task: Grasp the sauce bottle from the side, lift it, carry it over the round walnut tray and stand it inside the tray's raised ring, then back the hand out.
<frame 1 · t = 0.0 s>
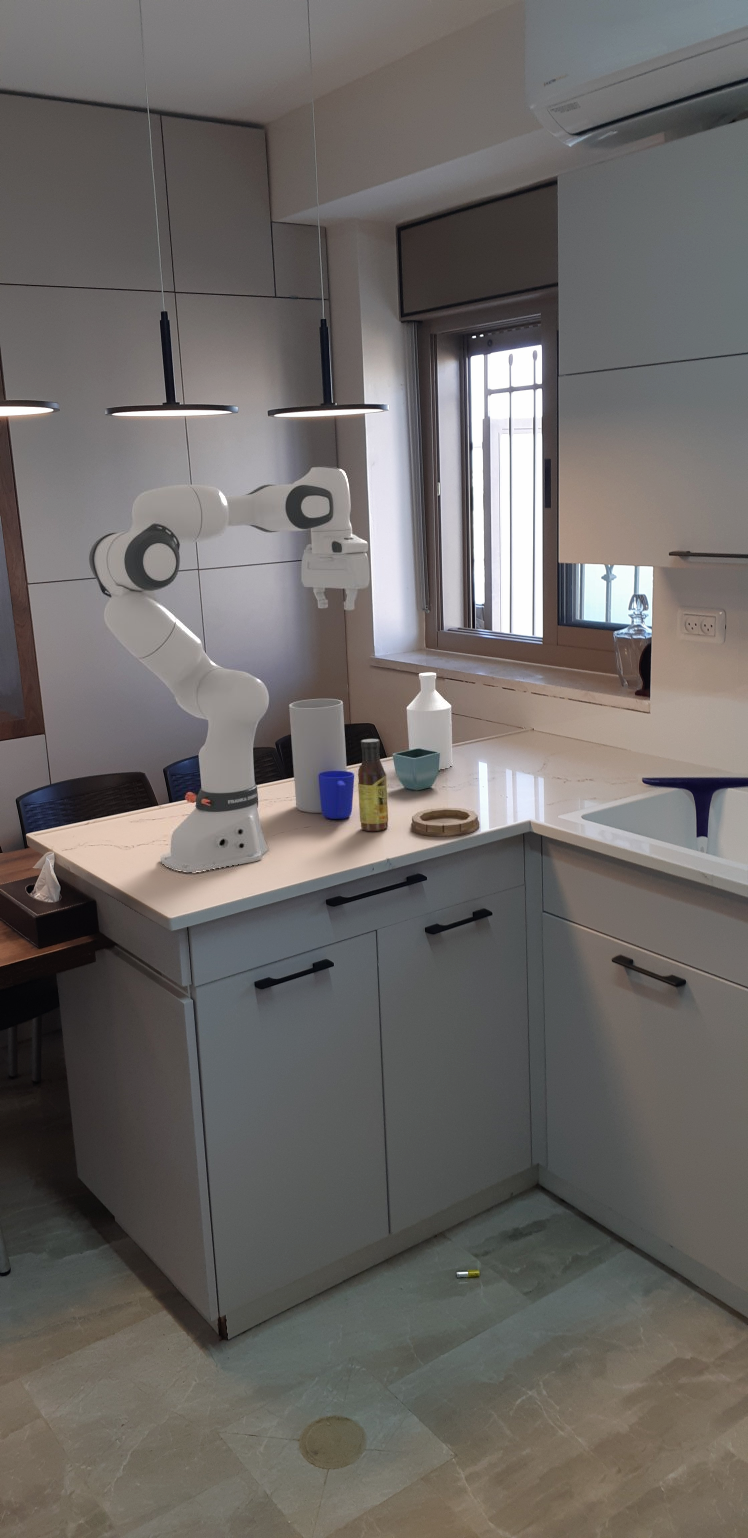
hand: (336, 608, 251), 48 cm above the countertop, tool pointing down, fingers open, 8 cm apart
mug: (338, 819, 264), on the countertop
flower pot: (417, 788, 289), on the countertop
sauce bottle: (374, 829, 256), on the countertop
cylinder vase: (322, 807, 276), on the countertop
bottle: (431, 766, 312), on the countertop
tray: (445, 826, 254), on the countertop
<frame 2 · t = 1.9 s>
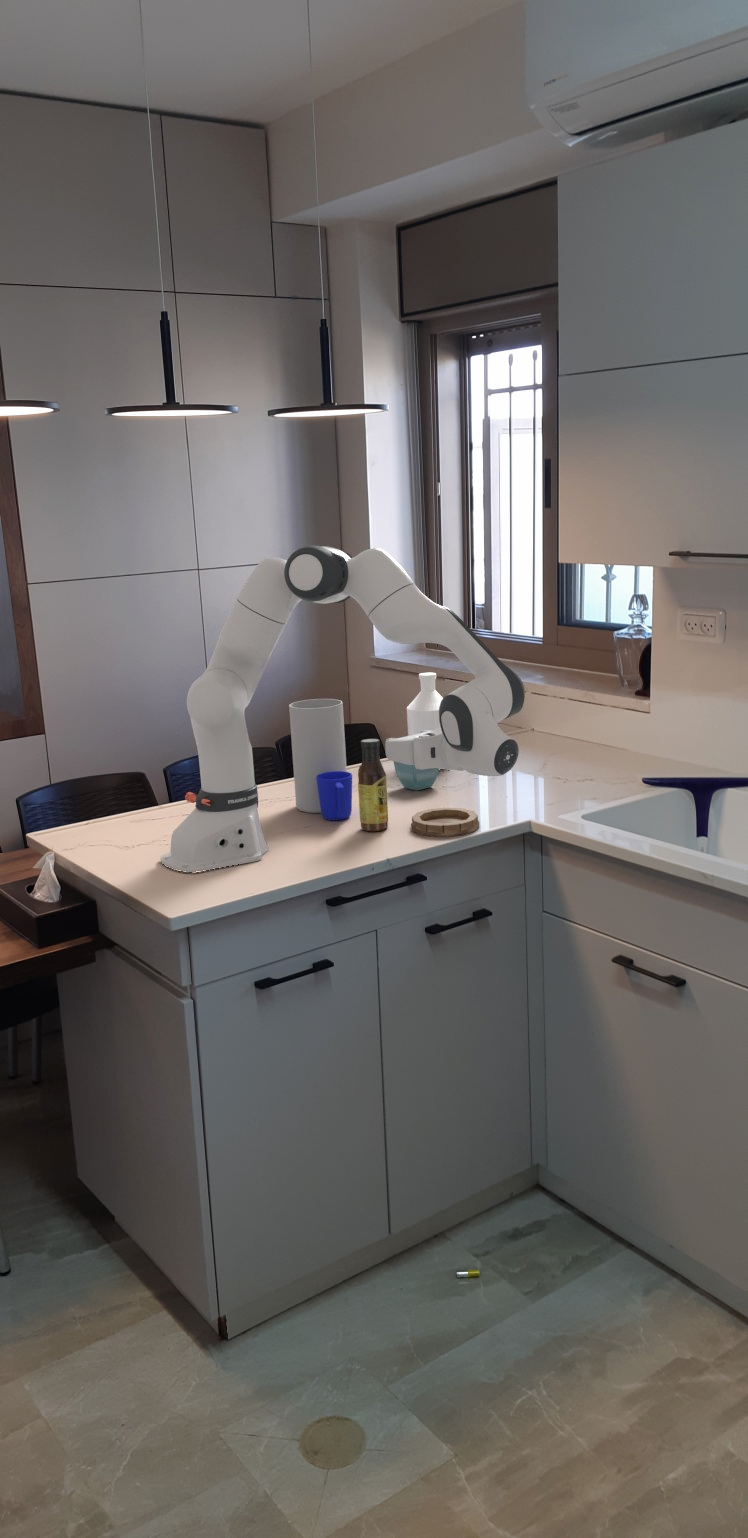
hand: (405, 738, 242), 22 cm above the countertop, tool horizontal, fingers open, 8 cm apart
nothing on the countertop moved.
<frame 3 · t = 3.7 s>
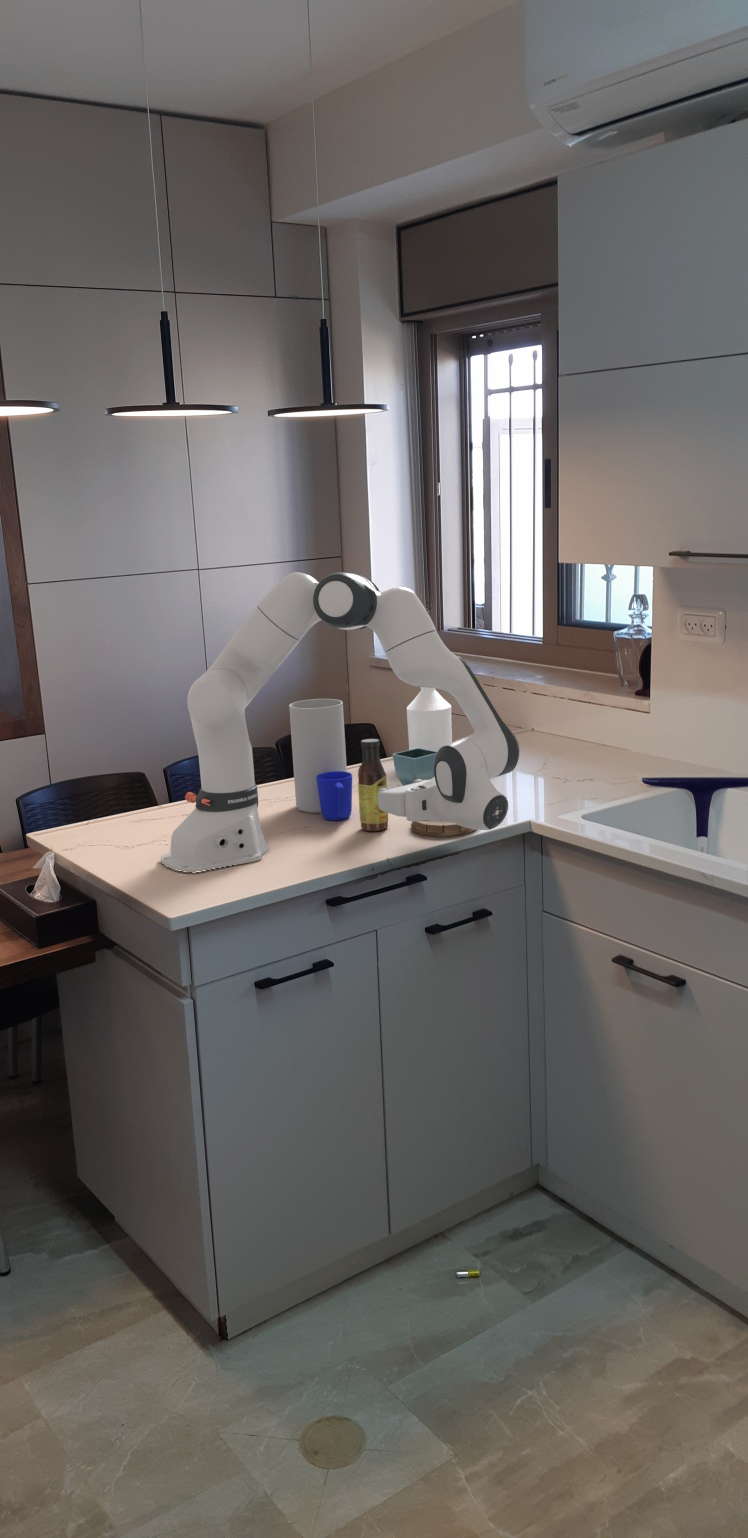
hand: (398, 787, 246), 11 cm above the countertop, tool horizontal, fingers open, 8 cm apart
nothing on the countertop moved.
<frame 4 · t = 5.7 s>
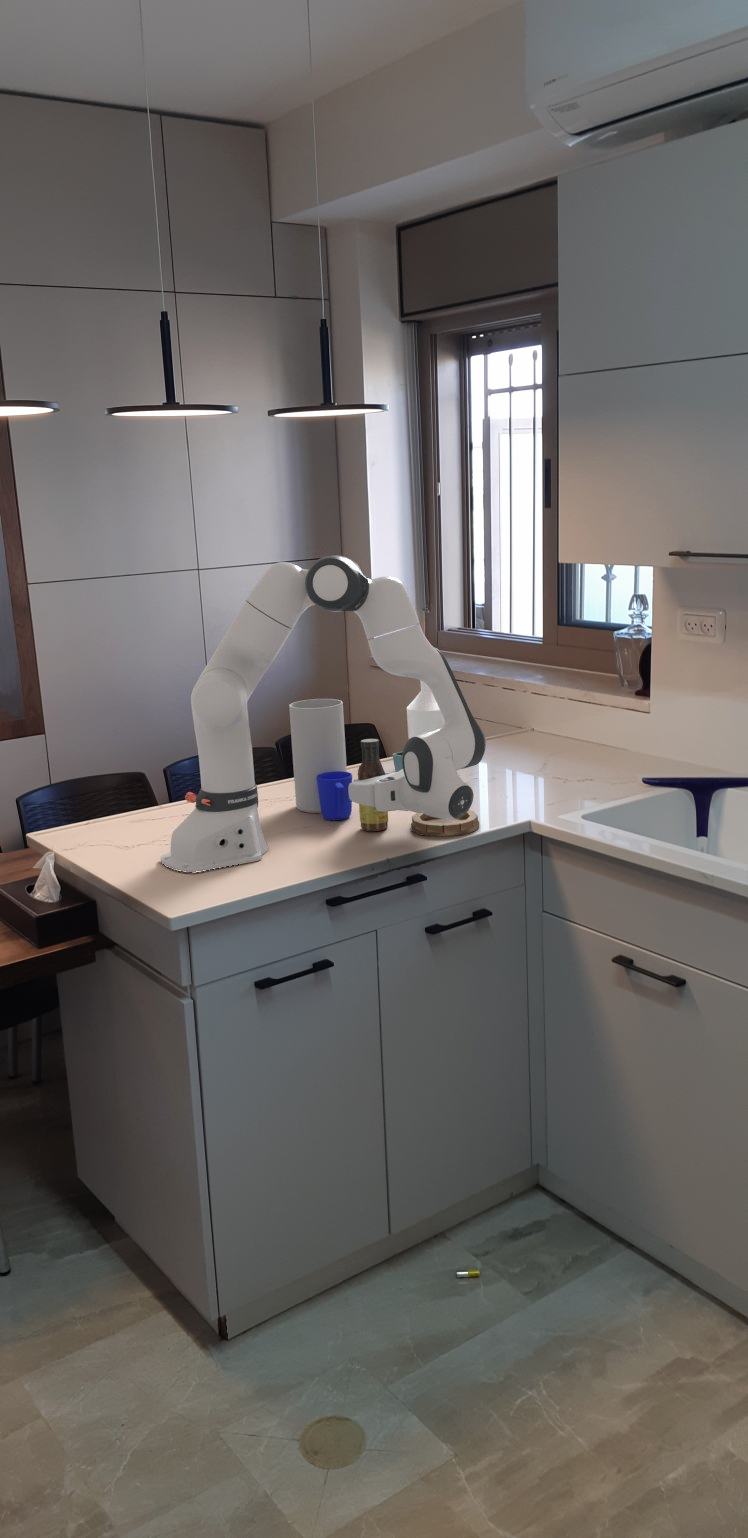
hand: (369, 779, 254), 11 cm above the countertop, tool horizontal, fingers closed on sauce bottle, 6 cm apart
sauce bottle: (374, 829, 256), on the countertop, touching gripper
everything else where it was.
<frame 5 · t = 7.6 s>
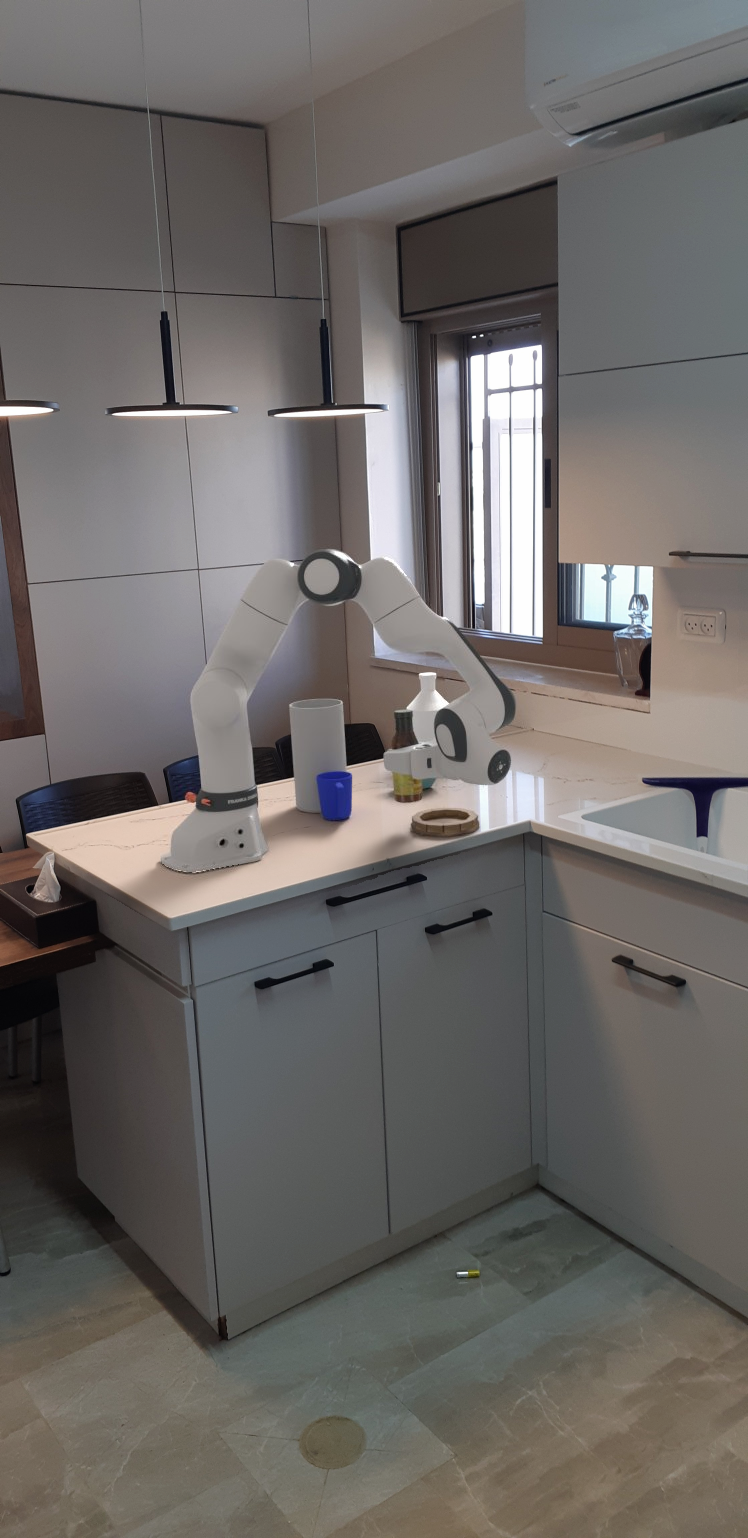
hand: (403, 749, 252), 18 cm above the countertop, tool horizontal, fingers closed on sauce bottle, 6 cm apart
sauce bottle: (408, 801, 253), point 6 cm above the countertop, touching gripper
everything else where it was.
when the fingers open (13 cm above the countertop, at t = 9.7 s): sauce bottle stays where it is, resting on tray.
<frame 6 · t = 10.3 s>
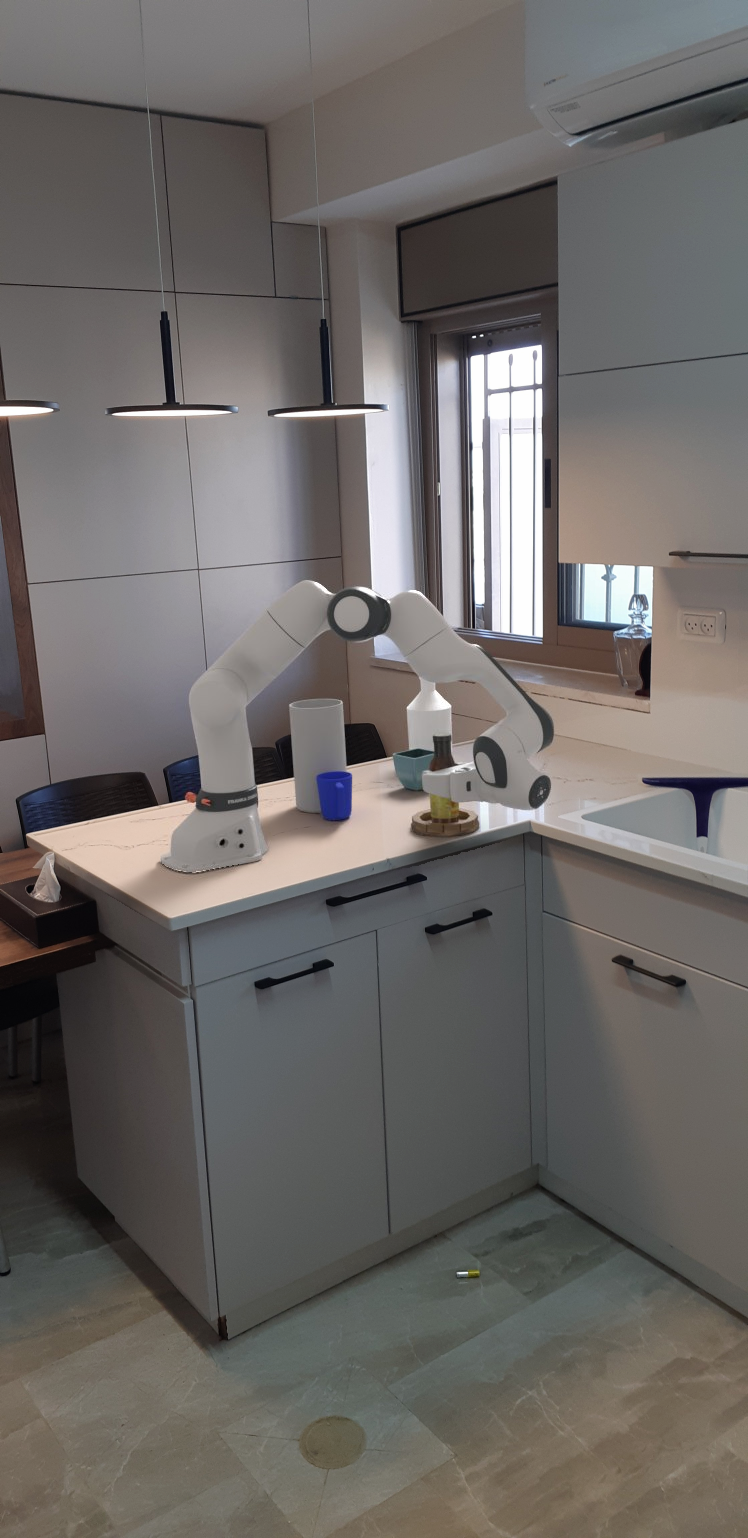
hand: (440, 770, 252), 13 cm above the countertop, tool horizontal, fingers open, 8 cm apart
sauce bottle: (445, 824, 254), point 1 cm above the countertop, touching tray
everything else where it was.
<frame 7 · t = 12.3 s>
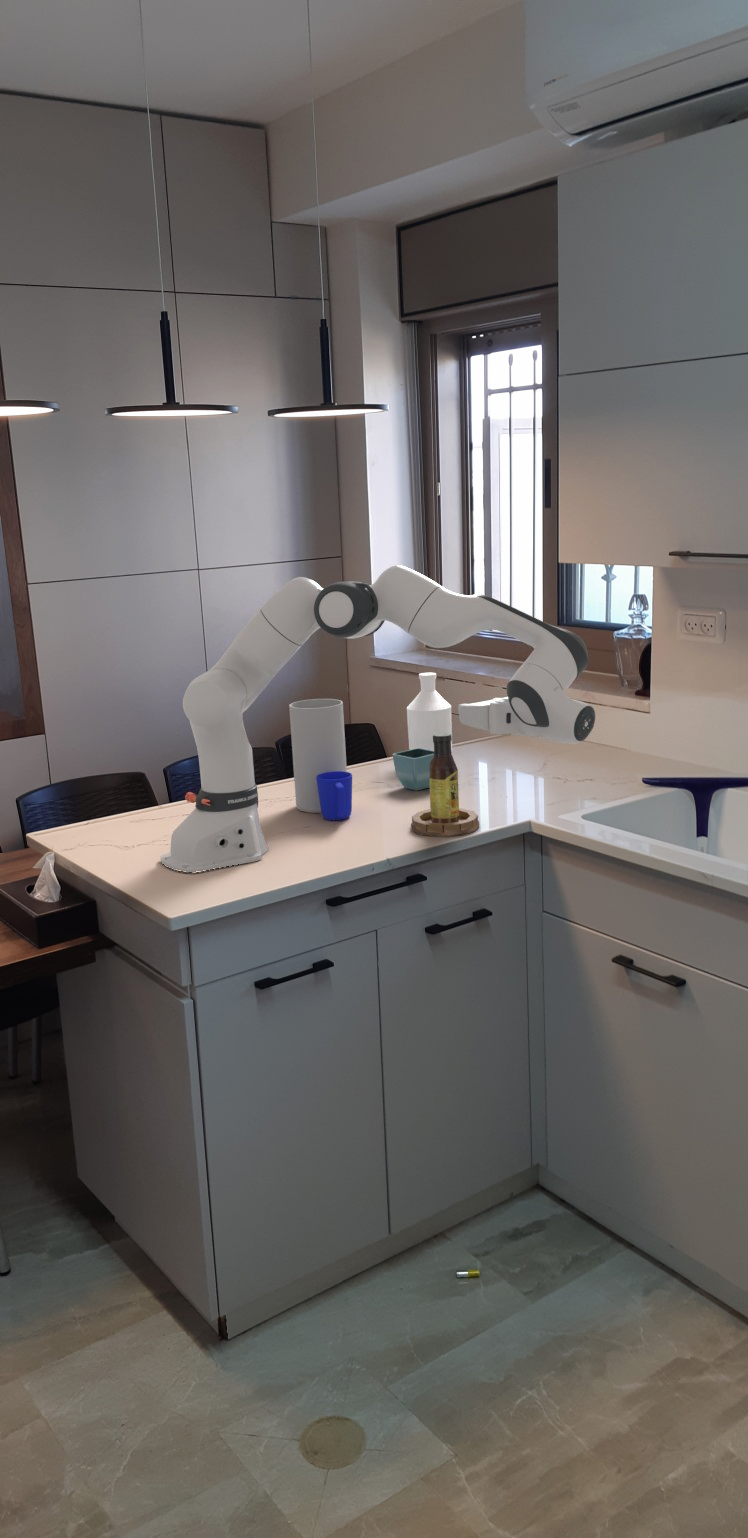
hand: (477, 704, 241), 28 cm above the countertop, tool horizontal, fingers open, 8 cm apart
nothing on the countertop moved.
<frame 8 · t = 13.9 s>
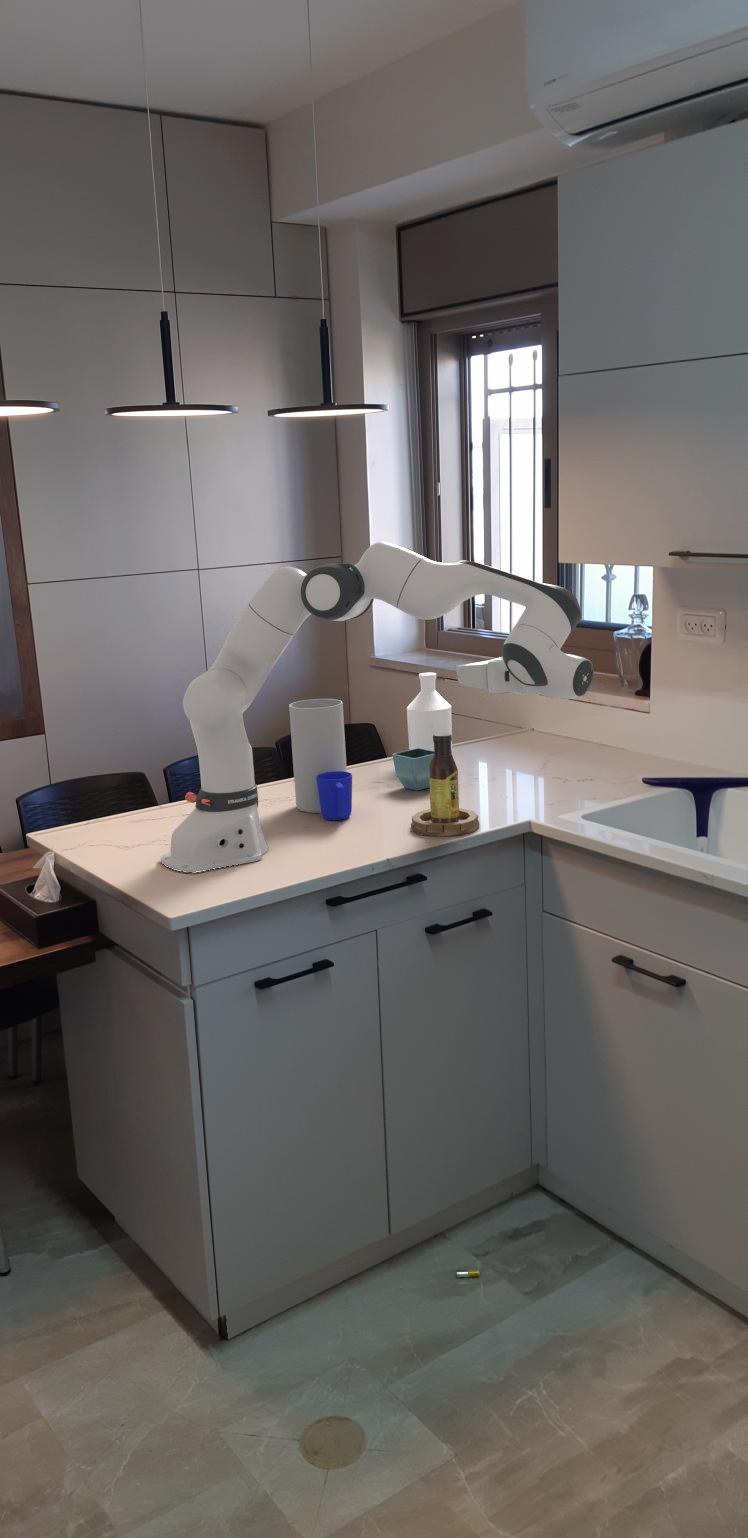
hand: (475, 666, 240), 36 cm above the countertop, tool horizontal, fingers open, 8 cm apart
nothing on the countertop moved.
at the end: sauce bottle 0.1 cm from the tray (horizontally); sauce bottle tilted 0°; the gripper is holding nothing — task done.
